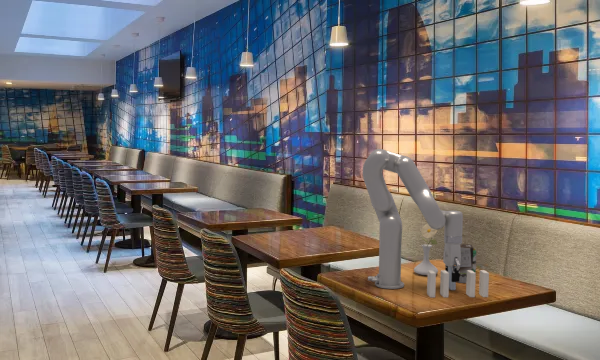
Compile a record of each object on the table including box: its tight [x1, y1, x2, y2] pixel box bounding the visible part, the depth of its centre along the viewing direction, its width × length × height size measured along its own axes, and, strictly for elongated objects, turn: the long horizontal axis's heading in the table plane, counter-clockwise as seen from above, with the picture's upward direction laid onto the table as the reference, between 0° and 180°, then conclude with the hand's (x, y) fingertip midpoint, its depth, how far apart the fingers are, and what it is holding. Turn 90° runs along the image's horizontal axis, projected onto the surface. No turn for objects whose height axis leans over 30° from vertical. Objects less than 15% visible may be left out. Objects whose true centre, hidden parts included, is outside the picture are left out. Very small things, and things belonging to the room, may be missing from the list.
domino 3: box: [448, 265, 457, 291], centre depth 255 cm, size 2×5×10 cm, turn 3°
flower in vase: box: [413, 223, 439, 276], centre depth 279 cm, size 13×11×25 cm
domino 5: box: [478, 269, 490, 298], centre depth 245 cm, size 2×5×10 cm, turn 3°
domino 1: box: [426, 270, 437, 298], centre depth 243 cm, size 2×5×10 cm, turn 3°
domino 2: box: [439, 269, 450, 298], centre depth 244 cm, size 2×5×10 cm, turn 3°
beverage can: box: [472, 247, 477, 273], centre depth 283 cm, size 8×8×12 cm
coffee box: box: [457, 243, 474, 284], centre depth 268 cm, size 9×6×16 cm
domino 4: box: [465, 270, 477, 298], centre depth 244 cm, size 2×5×10 cm, turn 3°
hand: (452, 279), depth 255 cm, fingers open, 8 cm apart
